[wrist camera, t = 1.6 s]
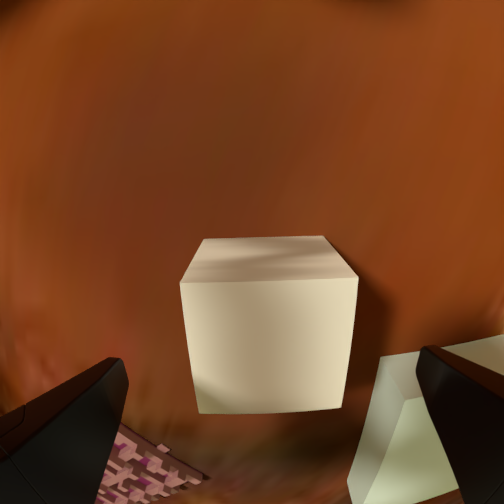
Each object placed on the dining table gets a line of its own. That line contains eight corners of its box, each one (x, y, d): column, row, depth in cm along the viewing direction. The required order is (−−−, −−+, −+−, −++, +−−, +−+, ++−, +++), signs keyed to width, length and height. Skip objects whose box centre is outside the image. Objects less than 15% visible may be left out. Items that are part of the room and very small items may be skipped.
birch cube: (322, 235, 14) (358, 277, 9) (317, 337, 15) (341, 407, 10) (204, 238, 14) (179, 283, 9) (212, 341, 15) (199, 413, 10)
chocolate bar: (209, 464, 19) (207, 486, 17) (95, 511, 22) (90, 524, 21) (122, 409, 17) (113, 430, 15) (37, 474, 21) (31, 487, 19)
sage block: (524, 324, 16) (559, 352, 12) (472, 443, 19) (491, 473, 15) (378, 352, 16) (405, 400, 12) (345, 476, 19) (356, 517, 15)
